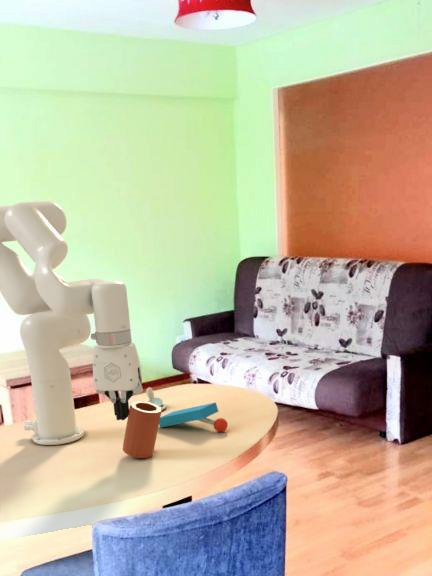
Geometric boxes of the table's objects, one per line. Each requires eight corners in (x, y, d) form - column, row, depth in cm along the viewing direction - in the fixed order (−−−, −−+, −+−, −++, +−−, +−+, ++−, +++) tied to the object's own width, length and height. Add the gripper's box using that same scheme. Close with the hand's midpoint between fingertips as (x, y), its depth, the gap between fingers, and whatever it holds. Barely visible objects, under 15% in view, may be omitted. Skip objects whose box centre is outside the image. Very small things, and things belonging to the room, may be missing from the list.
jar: (117, 452, 165) (126, 406, 161) (128, 442, 172) (136, 398, 168) (146, 460, 164) (155, 415, 160) (156, 450, 170) (165, 406, 167)
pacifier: (170, 406, 207) (150, 405, 209) (169, 384, 205) (149, 383, 207) (160, 413, 200) (140, 412, 202) (159, 391, 198) (138, 390, 200)
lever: (165, 444, 188) (220, 434, 177) (157, 418, 187) (212, 407, 177) (180, 436, 194) (235, 426, 183) (173, 411, 193) (227, 399, 182)
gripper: (75, 342, 159) (85, 423, 165) (140, 340, 156) (148, 423, 161) (89, 335, 166) (98, 413, 172) (151, 334, 163) (159, 414, 168)
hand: (122, 418), depth 166 cm, fingers closed
